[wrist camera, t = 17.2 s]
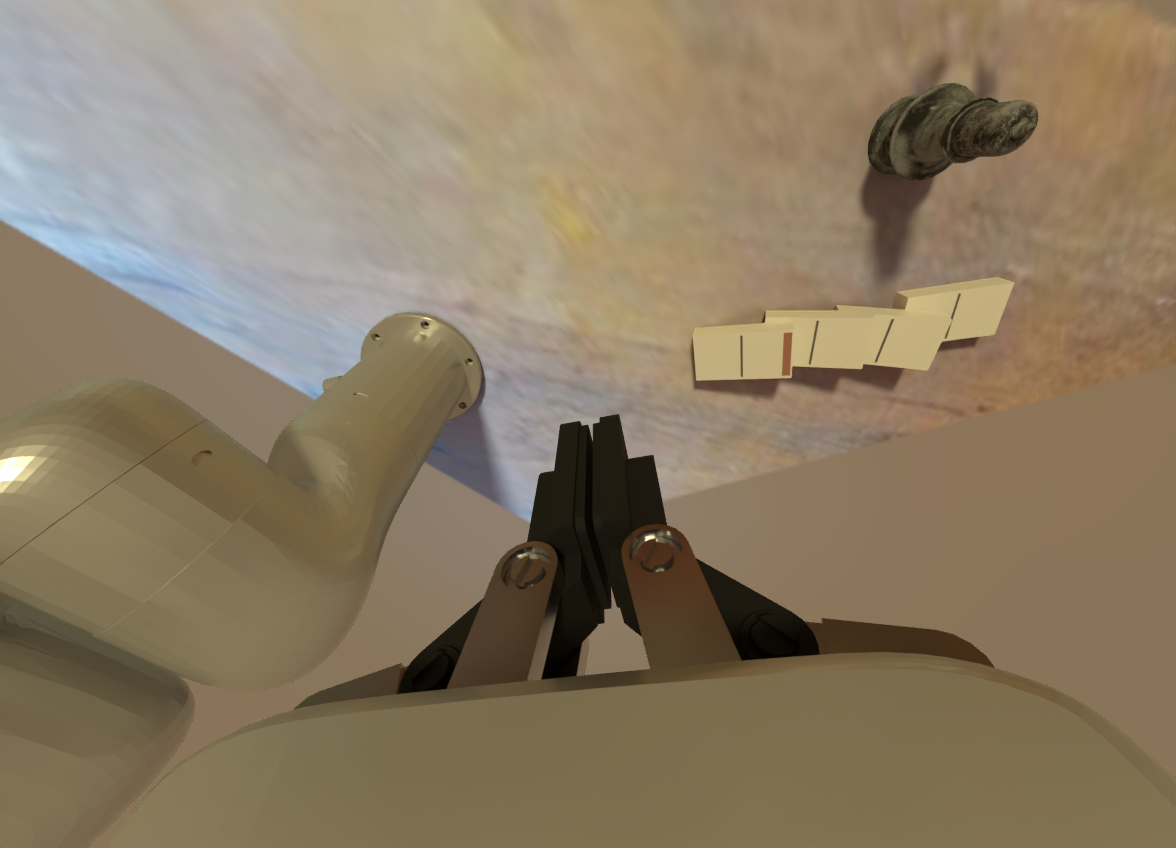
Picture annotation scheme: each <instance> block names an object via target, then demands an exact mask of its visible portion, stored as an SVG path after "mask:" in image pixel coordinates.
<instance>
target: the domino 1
mask: <svg viewBox="0 0 1176 848" xmlns="http://www.w3.org/2000/svg"><path fill="white" fill-rule="evenodd" d="M793 344H794V323H793V321H784V322H770V323H757V324H743V325H730V326H716V327H703V328H695V330H694V333H693V346H694V359H695V371H696V381H699V380H737V379H774V378H792V361H793Z"/></svg>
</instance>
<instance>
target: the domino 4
mask: <svg viewBox="0 0 1176 848" xmlns="http://www.w3.org/2000/svg"><path fill="white" fill-rule="evenodd" d="M1013 285H1014V282H1011V281H1008V280H1005V279H1001V278H998V277H995V278H988V279H981V280H974V281H968V282H961V283H954V284H947V285H941V286H934V287H927V288H920V289H913V290H907V291H900V292H896V295H895V299H894V304H893V308H892V309H903V310H917V311H932V312H944V313H945V314H947V315H948V316H949V317H950V318H951V319H952V322H951V324H950V326H949V328H948V330H947V332H946V334H945V336H944V338H943V340H942V341H950V340H958V339H965V338H973V337H980V336H988V335H995V332H996V330H997V327H998V324H999V322H1000V319H1001V316H1002V314H1003V311H1004V309H1005V306H1006V303H1007V301H1008V298H1009V295H1010V293H1011V290H1012V288H1013Z"/></svg>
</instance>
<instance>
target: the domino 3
mask: <svg viewBox="0 0 1176 848" xmlns="http://www.w3.org/2000/svg"><path fill="white" fill-rule="evenodd" d="M835 310H871V311H872V312H873V314H874V316H875V322H874V326H873V330H872V333H871V337H870V341H869V345H868V349H867V352H866V356H865V360H864V364H869V365H879V366H889V367H899V368H909V369H919V370H928V369H929V367H930V365H931V363H932V361H933V359H934V357H935V355H936V353H937V350H938V348H939V346H940V344H941V342H942V340H943V338H944V336H945V334H946V332H947V330H948V328H949V326H950V324H951V322H952V319H951V318H950V317H949V316H948V315H947V314H945V313H944V312H932V311H917V310H903V309H888V308H873V307H858V306H844V305H836V307H835Z"/></svg>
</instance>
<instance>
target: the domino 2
mask: <svg viewBox="0 0 1176 848" xmlns="http://www.w3.org/2000/svg"><path fill="white" fill-rule="evenodd" d="M784 321H793V323H794V344H793V361H792V366H798V367H823V368H847V369H862V367H863V364H864V360H865V356H866V352H867V349H868V345H869V341H870V337H871V333H872V330H873V326H874V322H875V316H874V314H873V312H872V311H871V310H771V311H766V313H765V321H764V323H770V322H784Z"/></svg>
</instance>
